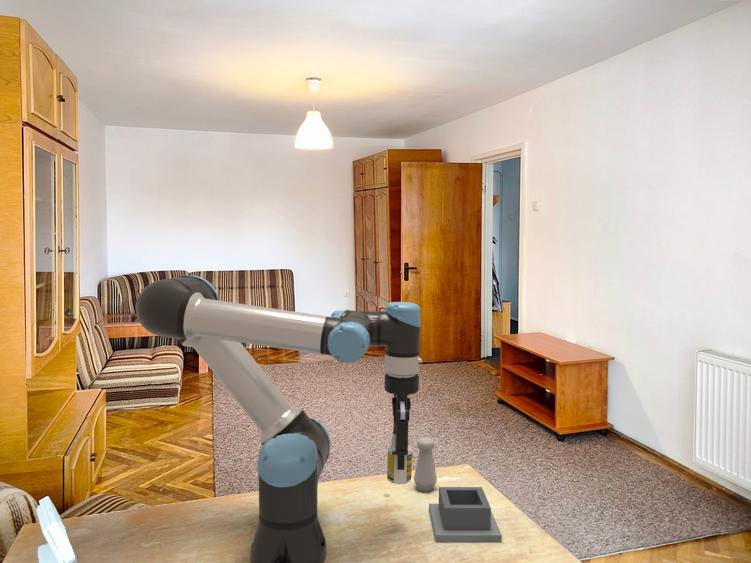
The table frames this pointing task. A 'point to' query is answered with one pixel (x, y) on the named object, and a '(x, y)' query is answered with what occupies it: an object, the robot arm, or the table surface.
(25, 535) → the table surface
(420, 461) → the salt shaker
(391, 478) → the supplement bottle
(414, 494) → the table surface
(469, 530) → the socket board
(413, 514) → the table surface
